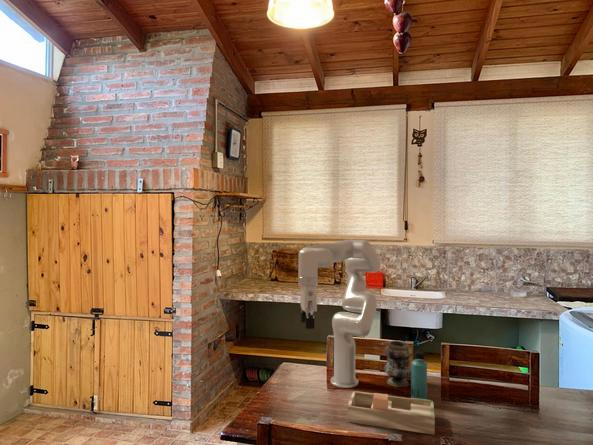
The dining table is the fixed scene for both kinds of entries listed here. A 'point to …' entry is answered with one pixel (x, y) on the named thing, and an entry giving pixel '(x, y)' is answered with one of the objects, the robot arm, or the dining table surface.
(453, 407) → the dining table surface
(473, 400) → the dining table surface
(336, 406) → the dining table surface
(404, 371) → the dark ribbed vase
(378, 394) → the block
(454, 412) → the dining table surface
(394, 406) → the light wood long tray
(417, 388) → the beverage bottle
